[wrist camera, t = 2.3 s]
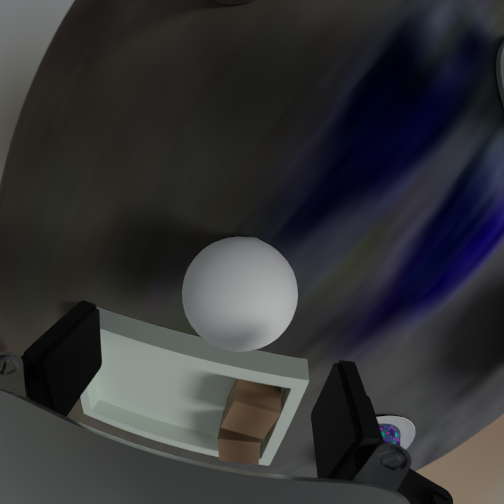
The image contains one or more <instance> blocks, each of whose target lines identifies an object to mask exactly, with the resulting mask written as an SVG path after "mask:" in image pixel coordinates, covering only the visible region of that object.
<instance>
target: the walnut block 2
mask: <svg viewBox="0 0 504 504" xmlns="http://www.w3.org/2000/svg"><path fill="white" fill-rule="evenodd" d="M223 415H224V410H223ZM223 415H222V419H223ZM221 424H222V420H221ZM221 424H220V429H219V433H218V438H217V441H218V453H219V460H220V461H229V462H239V463H251V464H259V456H260V445H261V439H260V438H256V437H253V436H249V435H245V434H241V433H238V432H234V431H231V430H227V429H224V428H221Z"/></svg>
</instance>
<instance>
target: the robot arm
mask: <svg viewBox="0 0 504 504" xmlns="http://www.w3.org/2000/svg"><path fill="white" fill-rule="evenodd" d="M496 76H497V83H498V89H499V93H500V97H501V100H502V104H503V107H504V42H503V43H502V44H501V46H500V48H499V50H498V54H497V58H496ZM101 365H102V352H101V336H100V312H99V309H97V308H96V305H95V304H92V303H89V302H86V301H81V302H79V303H78V304H77V305H76V306H75V307H74V308H72V309H71V310H70V311H69V312H68V313H67V314H66V315H64V316H63V317H62V318H61V319H60V320H59V321H58V322H56V323H55V324H54V325H53V326H52V327H51V328H50V329H49V330H48V331H46V332H45V333H44V334H43V335H42V336H41V337H40V338H39V339H38V340H37V341H35V342H34V343H33V344H32V345H31V346H30V347H29V348H28V349H27V350H26V351H25V352H24V355H23V356H21V357H20V356H19V355H17V354H16V353H13V352H1V353H0V504H453V499H452V496H451V495H450V493H449V492H448V491H447V490H445V489H444V488H442V487H441V486H439V485H437V484H435V483H433V482H432V481H430V480H428V479H427V478H425V477H423V476H421V475H420V474H418V473H417V472H415V471H413V470H412V469H410V466H411V457H410V455H409V453H408V452H407V451H406V450H405V449H404V448H403V447H401V446H399V445H397V444H393V443H385V442H384V439H383V436H382V433H381V430H380V427H379V424H378V421H377V418H376V415H375V412H374V409H373V406H372V403H371V400H370V398H369V396H367V395H366V392H365V390H364V387H363V384H362V381H361V378H360V375H359V373H358V370H357V367H356V364H355V362H350V361H343V360H340V361H339V362H338V363H335V364H334V365H333V367H332V369H331V371H330V374H329V376H328V378H327V380H326V382H325V385H324V387H323V389H322V391H321V393H320V395H319V398H318V400H317V402H316V404H315V406H314V408H313V410H312V414H311V421H312V429H313V438H314V447H315V456H316V465H317V475H318V478H310V477H297V476H287V475H277V474H268V473H260V472H253V471H246V470H240V469H234V468H228V467H223V466H218V465H213V464H208V463H203V462H199V461H194V460H190V459H186V458H182V457H178V456H174V455H171V454H167V453H164V452H160V451H157V450H153V449H150V448H147V447H144V446H140V445H137V444H134V443H131V442H128V441H126V440H123V439H120V438H117V437H114V436H112V435H109V434H106V433H104V432H101V431H99V430H96V429H94V428H91V427H89V426H86V425H84V424H82V423H79V422H77V421H75V420H73V419H70V418H68V417H66V416H67V415H68V414H69V412H70V411H71V409H72V408H73V406H74V405H75V403H76V402H77V401H78V399H79V398H80V396H81V395H82V393H83V392H84V391H85V389H86V388H87V386H88V385H89V384H90V382H91V381H92V379H93V378H94V377H95V375H96V374H97V373H98V371H99V370H100V368H101Z"/></svg>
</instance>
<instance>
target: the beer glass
mask: <svg viewBox="0 0 504 504" xmlns="http://www.w3.org/2000/svg"><path fill="white" fill-rule="evenodd" d="M210 1H212V2H214V3H217V4H222V5H238V4H244V3H247V2H250V1H253V0H210Z"/></svg>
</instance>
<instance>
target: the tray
mask: <svg viewBox="0 0 504 504" xmlns="http://www.w3.org/2000/svg"><path fill="white" fill-rule="evenodd" d="M96 308H97V309H99V312H100V336H101V352H102V365H101V368H100V370H99V371H98V373H97V374H96V375H95V377H94V378H93V379H92V381H91V382H90V384H89V385H88V386H87V388H86V389H85V391H84V392H83V393H82V395H81V396H80V398H81V403H82V407H83V411H84V414H86V415H89V416H91V417H93V418H96V419H98V420H100V421H103V422H105V423H108V424H110V425H113V426H116V427H118V428H121V429H123V430H126V431H129V432H132V433H135V434H137V435H140V436H143V437H146V438H149V439H153V440H156V441H159V442H162V443H166V444H169V445H172V446H176V447H180V448H183V449H187V450H191V451H195V452H199V453H203V454H207V455H212V456H216V457H219V453H218V441H217V438H218V433H219V429H220V424H221V420H222V415H223V410H225V405H226V400H227V397H228V395H229V393H230V391H231V389H232V387H233V384H234V382H235V380H236V378H238V379H243V380H247V381H252V382H258V383H263V384H268V385H274V386H279V387H281V414H280V415H279V417H278V418H277V420H276V421H275V423H274V424H273V426H272V427H271V429H270V430H269V431H268V433H267V434H266V436H265V437H264V439H261V445H260V456H259V464H261V465H268V466H269V465H270V463H271V461H272V459H273V457H274V455H275V453H276V451H277V449H278V447H279V445H280V443H281V441H282V439H283V437H284V435H285V433H286V431H287V429H288V427H289V425H290V423H291V421H292V418H293V416H294V414H295V412H296V410H297V408H298V405H299V403H300V401H301V399H302V396H303V394H304V392H305V390H306V387H307V385H308V383H309V373H308V364H307V359H301V358H295V357H290V356H284V355H279V354H274V353H269V352H264V351H259V350H251V351H243V352H237V351H229V350H225V349H221V348H219V347H216V346H214V345H212V344H211V343H209V342H207V341H206V340H205V339H203V338H202V337H198V336H194V335H190V334H186V333H182V332H179V331H175V330H171V329H168V328H164V327H160V326H157V325H153V324H150V323H147V322H143V321H140V320H137V319H133V318H130V317H127V316H124V315H120V314H117V313H114V312H111V311H108V310H105V309H102V308H99V307H96Z"/></svg>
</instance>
